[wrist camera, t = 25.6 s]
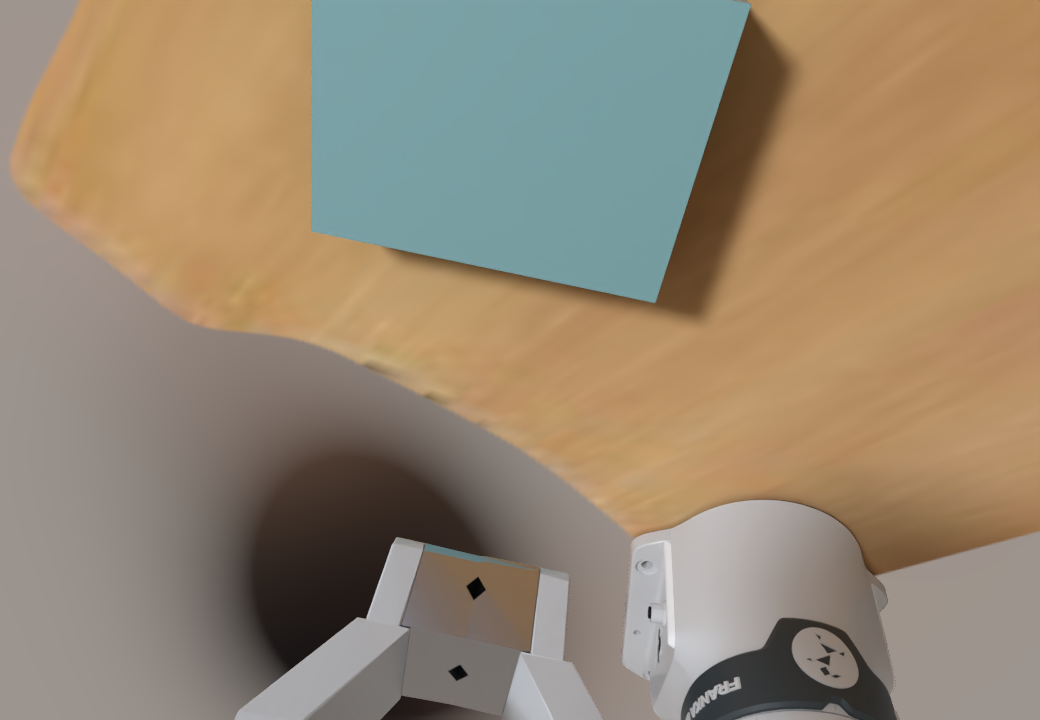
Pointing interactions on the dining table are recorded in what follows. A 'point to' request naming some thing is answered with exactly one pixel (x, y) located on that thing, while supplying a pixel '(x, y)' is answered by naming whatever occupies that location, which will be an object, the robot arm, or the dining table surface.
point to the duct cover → (518, 129)
